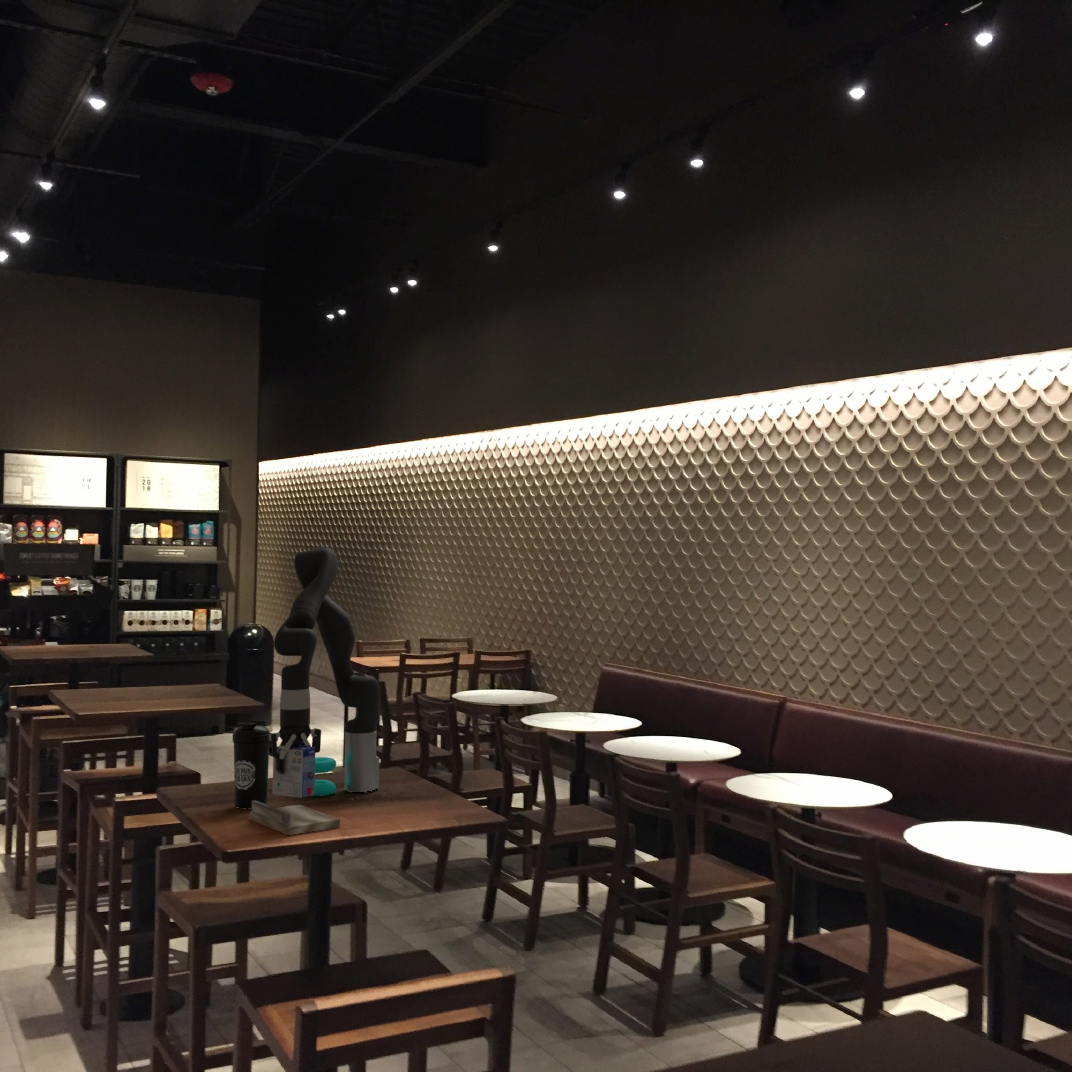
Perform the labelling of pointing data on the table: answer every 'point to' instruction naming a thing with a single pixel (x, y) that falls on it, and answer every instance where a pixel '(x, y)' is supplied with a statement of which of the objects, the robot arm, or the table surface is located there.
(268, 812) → the shelf board
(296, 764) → the ink cartridge box
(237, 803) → the water bottle
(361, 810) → the table surface
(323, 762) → the donuts
